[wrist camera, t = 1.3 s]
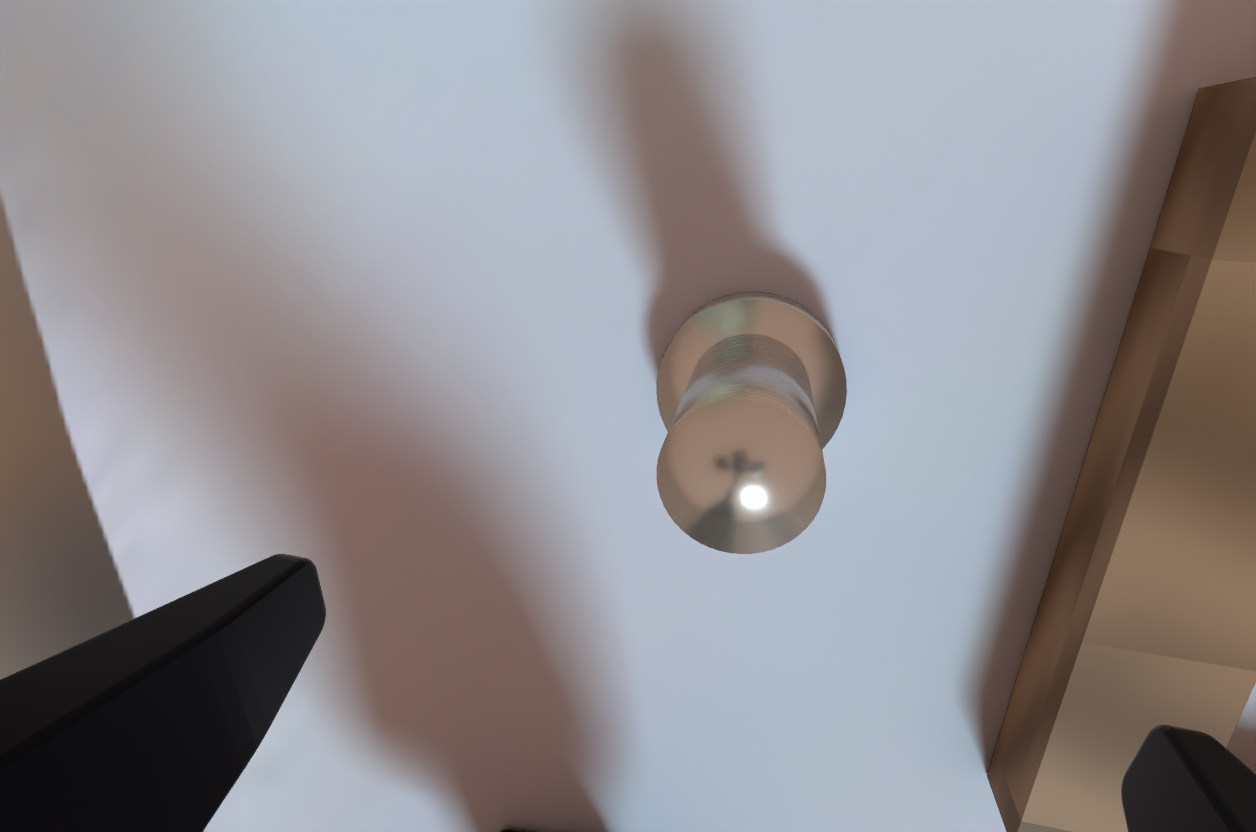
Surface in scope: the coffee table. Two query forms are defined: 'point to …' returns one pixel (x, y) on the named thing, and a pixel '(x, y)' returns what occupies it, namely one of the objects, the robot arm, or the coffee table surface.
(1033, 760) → the keyhole plate
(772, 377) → the steel peg
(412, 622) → the coffee table surface
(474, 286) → the coffee table surface
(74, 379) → the coffee table surface
